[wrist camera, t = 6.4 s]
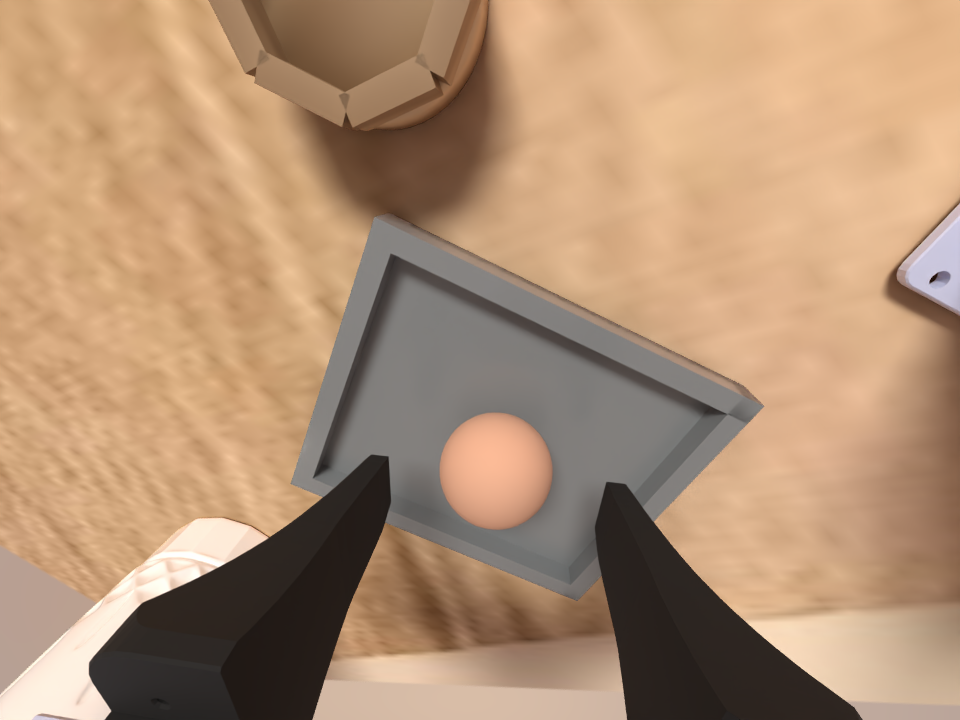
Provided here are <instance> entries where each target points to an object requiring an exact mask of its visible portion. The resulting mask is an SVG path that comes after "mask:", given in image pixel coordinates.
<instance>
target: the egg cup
mask: <svg viewBox="0 0 960 720" xmlns="http://www.w3.org/2000/svg"><path fill="white" fill-rule="evenodd" d="M209 2H210V4H211V6H212V8H213V10H214V12H215V14H216V16H217V18H218V20H219V22H220V24H221V26H222V28H223V30H224V32H225V34H226V36H227V38H228V40H229V42H230V44H231V46H232V48H233V50H234V52H235V54H236V56H237V58H238V60H239V62H240V64H241V66H242V68H243V70H244V72H245V73H246V74H249V75H252V76H254V77H255V82H254V83H255V84H257V85H259V86H261V87H263V88H265V89H267V90H269V91H271V92H273V93H275V94H277V95H279V96H281V97H283V98H285V99H287V100H289V101H291V102H293V103H295V104H297V105H299V106H301V107H303V108H305V109H307V110H309V111H311V112H313V113H315V114H317V115H319V116H321V117H323V118H325V119H327V120H329V121H331V122H333V123H335V124H337V125H339V126H341V127H343V128H347V129H351V130H356V131H358V129H360V130H364V131H369V130H372V129H381V130H399V129H404V128H409V127H412V126H415V125H418V124H420V123H423V122H425V121H427V120H428V119H430V118H432V117H434V116H435V115H437V114H438V113H439V112H441V111H442V110H443V109H444V108H446V107H447V106H448V105H449V104H450V103H451V102H452V100H453V99H454V98H455V97H456V96H457V95H458V93H459V92H460V91H461V89H462V88H463V87H464V85H465V83H466V82H467V80H468V78H469V77H470V75H471V73H472V71H473V69H474V66H475V64H476V62H477V59H478V57H479V54H480V50H481V47H482V44H483V40H484V35H485V30H486V25H487V15H488V0H209Z"/></svg>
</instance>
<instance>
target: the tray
mask: <svg viewBox="0 0 960 720" xmlns="http://www.w3.org/2000/svg"><path fill="white" fill-rule="evenodd" d="M763 407H764V405H763V404H762V403H761V402H760V401H758V400H757V399H756V398H755V397H754V396H753V395H752V394H751V393H750V392H749V391H748V390H747V389H746V388H745V387H744V386H743V385H741V384H739V383H737V382H735V381H733V380H731V379H728V378H726V377H724V376H722V375H720V374H718V373H716V372H714V371H712V370H710V369H708V368H706V367H704V366H702V365H700V364H698V363H696V362H694V361H692V360H690V359H688V358H686V357H683V356H681V355H679V354H677V353H675V352H673V351H671V350H669V349H667V348H665V347H663V346H661V345H659V344H657V343H655V342H653V341H651V340H649V339H647V338H645V337H643V336H640V335H638V334H636V333H634V332H632V331H630V330H628V329H626V328H624V327H622V326H620V325H618V324H616V323H614V322H612V321H610V320H608V319H606V318H604V317H602V316H600V315H597V314H595V313H593V312H591V311H589V310H587V309H585V308H583V307H581V306H579V305H577V304H575V303H573V302H571V301H569V300H567V299H565V298H563V297H561V296H559V295H557V294H554V293H552V292H550V291H548V290H546V289H544V288H542V287H540V286H538V285H536V284H534V283H532V282H530V281H528V280H526V279H524V278H522V277H520V276H518V275H516V274H514V273H512V272H509V271H507V270H505V269H503V268H501V267H499V266H497V265H495V264H493V263H491V262H489V261H487V260H485V259H483V258H481V257H479V256H477V255H475V254H473V253H471V252H469V251H466V250H464V249H462V248H460V247H458V246H456V245H454V244H452V243H450V242H448V241H446V240H444V239H442V238H440V237H438V236H436V235H434V234H432V233H430V232H428V231H426V230H423V229H421V228H419V227H417V226H415V225H413V224H411V223H409V222H407V221H405V220H403V219H401V218H399V217H397V216H395V215H393V214H391V213H386V214H383V215H379V216H376V217H374V220H373V223H372V227H371V230H370V233H369V236H368V239H367V243H366V246H365V249H364V252H363V255H362V259H361V262H360V265H359V268H358V271H357V274H356V278H355V281H354V284H353V287H352V290H351V294H350V297H349V300H348V303H347V306H346V309H345V313H344V316H343V319H342V322H341V325H340V329H339V332H338V335H337V338H336V341H335V344H334V348H333V351H332V354H331V357H330V360H329V364H328V367H327V370H326V373H325V376H324V379H323V383H322V386H321V389H320V392H319V395H318V399H317V402H316V405H315V408H314V411H313V415H312V418H311V421H310V424H309V427H308V430H307V434H306V437H305V440H304V443H303V446H302V450H301V453H300V456H299V459H298V462H297V465H296V469H295V472H294V475H293V478H292V481H291V484H292V485H295V486H297V487H300V488H302V489H304V490H307V491H309V492H312V493H314V494H317V495H319V496H322V497H324V496H325V495H327V494H328V493H329V492H330V491H331V490H332V489H333V488H335V487H336V486H337V485H338V484H339V483H340V482H341V481H343V480H344V479H345V478H346V477H347V476H348V475H349V474H350V473H351V472H352V471H353V470H354V469H356V468H357V467H358V466H359V465H360V464H361V463H362V462H363V461H364V460H365V459H366V458H367V457H368V456H370V455H371V454H372V455H381V456H389V469H390V488H391V504H390V508H389V511H388V514H387V518H386V521H385V523H388V524H390V525H393V526H395V527H397V528H400V529H402V530H405V531H407V532H410V533H412V534H415V535H417V536H419V537H422V538H424V539H427V540H429V541H432V542H434V543H437V544H439V545H441V546H444V547H446V548H449V549H451V550H454V551H456V552H459V553H461V554H463V555H466V556H468V557H471V558H473V559H476V560H478V561H481V562H483V563H485V564H488V565H490V566H493V567H495V568H498V569H500V570H503V571H505V572H508V573H510V574H512V575H515V576H517V577H520V578H522V579H525V580H527V581H530V582H532V583H534V584H537V585H539V586H542V587H544V588H547V589H549V590H552V591H554V592H556V593H559V594H561V595H564V596H566V597H569V598H571V599H574V600H576V601H578V600H579V599H580V598H581V597H582V596H583V594H584V593H585V592H586V591H587V590H588V589H589V588H590V587H591V586H592V585H593V584H594V583H595V582H596V581H597V580H598V579H599V578H600V577H601V576H602V575H601V570H600V566H599V561H598V554H597V546H596V536H595V524H596V520H597V516H598V512H599V508H600V504H601V500H602V497H603V493H604V489H605V485H606V482H614V483H623V484H626V485H627V486H628V488H629V489H630V490H631V492H632V493H633V495H634V496H635V497H636V499H637V500H638V501H639V503H640V504H641V506H642V507H643V508H644V510H645V511H646V512H647V514H648V515H649V517H650V518H651V519H652V521H653V522H654V521H655V520H656V518H657V517H658V516H659V515H660V514H661V513H662V512H663V511H664V510H665V509H666V508H667V507H668V506H669V505H670V504H671V503H672V502H673V501H674V500H675V499H676V498H677V497H678V496H679V495H680V493H681V492H682V491H683V490H684V489H685V488H686V487H687V486H688V485H689V484H690V483H691V482H692V481H693V480H694V479H695V478H696V477H697V476H698V475H699V474H700V473H701V472H702V471H703V470H704V469H705V467H706V466H707V465H708V464H709V463H710V462H711V461H712V460H713V459H714V458H715V457H716V456H717V455H718V454H719V453H720V452H721V451H722V450H723V449H724V448H725V447H726V446H727V445H728V444H729V442H730V441H731V440H732V439H733V438H734V437H735V436H736V435H737V434H738V433H739V432H740V431H741V430H742V429H743V428H744V427H745V426H746V425H747V424H748V423H749V422H750V421H751V420H752V419H753V417H754V416H755V415H756V414H757V413H758V412H759V411H760V410H761V409H762V408H763ZM492 412H495V413H506V414H510V415H513V416H516V417H519V418H521V419H523V420H524V421H526V422H527V423H529V424H530V425H531V426H532V427H533V428H535V429H536V431H537V432H538V433H539V434H540V435H541V437H542V438H543V440H544V441H545V443H546V445H547V447H548V450H549V452H550V456H551V460H552V467H553V475H552V483H551V488H550V491H549V493H548V496H547V498H546V500H545V502H544V504H543V505H542V507H541V508H540V509H539V510H538V512H537V513H536V514H534V515H533V516H532V517H531V518H530V519H529V520H527V521H526V522H524V523H522V524H520V525H518V526H515V527H512V528H509V529H502V530H492V529H485V528H481V527H478V526H475V525H473V524H471V523H469V522H468V521H466V520H465V519H463V518H462V517H461V516H460V515H458V514H457V513H456V512H455V510H454V509H453V508H452V507H451V505H450V504H449V502H448V501H447V499H446V497H445V494H444V492H443V489H442V486H441V481H440V460H441V455H442V452H443V449H444V447H445V444H446V442H447V441H448V439H449V437H450V436H451V434H452V433H453V432H454V431H455V430H456V429H457V428H458V427H459V426H460V425H461V424H462V423H464V422H465V421H467V420H469V419H471V418H473V417H475V416H477V415H480V414H485V413H492Z"/></svg>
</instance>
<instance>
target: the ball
mask: <svg viewBox="0 0 960 720" xmlns="http://www.w3.org/2000/svg"><path fill="white" fill-rule="evenodd" d="M552 475H553V467H552V460H551V456H550V452H549V450H548V447H547V445H546V443H545V441H544V440H543V438H542V437H541V435H540V434H539V433H538V432H537V431H536V429H535V428H533V427H532V426H531V425H530V424H529V423H527V422H526V421H524V420H523V419H521V418H519V417H516V416H513V415H510V414H506V413H495V412H492V413H485V414H480V415H477V416H475V417H473V418H471V419H469V420H467V421H465V422H464V423H462V424H461V425H460V426H459V427H458V428H457V429H456V430H455V431H454V432H453V433H452V434H451V436H450V437H449V439H448V441H447V442H446V444H445V447H444V449H443V452H442V455H441V460H440V481H441V486H442V489H443V492H444V494H445V497H446V499H447V501H448V502H449V504H450V505H451V507H452V508H453V509H454V510H455V512H456V513H457V514H458V515H460V516H461V517H462V518H463V519H465V520H466V521H468V522H469V523H471V524H473V525H475V526H478V527H481V528H485V529H492V530H502V529H509V528H512V527H515V526H518V525H520V524H522V523H524V522H526V521H527V520H529V519H530V518H531V517H532V516H533V515H534V514H536V513H537V512H538V510H539V509H540V508H541V507H542V505H543V504H544V502H545V500H546V498H547V496H548V493H549V491H550V488H551V483H552Z"/></svg>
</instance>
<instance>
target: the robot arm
mask: <svg viewBox="0 0 960 720" xmlns="http://www.w3.org/2000/svg"><path fill="white" fill-rule="evenodd" d="M936 273H938V276H937V278H936V279H935V281H933V282H932V283H930V284H929V281H930V279H931V278H932V276H933V275H935V274H936ZM897 280H898V281H899V282H900V283H901V284H902V285H904V286H905V287H907V288H909V289H911V290H913V291H915V292H916V293H918V294H920V295H922V296H924V297H926V298H928V299H929V300H931V301H933V302H935V303H937V304H939V305H940V306H942V307H944V308H946V309H948V310H950V311H952V312H953V313H955V314H957V315H959V316H960V204H959V205H958V206H957V207H956V208H955V209H954V210H953V211H952V212H951V213H950V214H949V215H948V216H947V217H946V218H945V219H944V220H943V221H942V222H941V223H940V224H939V225H938V227H937V228H936V229H935V230H934V231H933V232H932V233H931V234H930V235H929V236H928V237H927V238H926V239H925V240H924V241H923V242H922V243H921V244H920V245H919V246H918V247H917V248H916V249H915V250H914V251H913V253H912V254H911V255H910V256H909V257H908V258H907V259H906V260H905V261H904V262H903V263H902V264H901V266H900V267H899V269H898V272H897ZM390 504H391V488H390V469H389V456H381V455H372V454H371V455H370V456H368V457H367V458H366V459H365V460H364V461H363V462H362V463H361V464H360V465H359V466H358V467H357V468H356V469H354V470H353V471H352V472H351V473H350V474H349V475H348V476H347V477H346V478H345V479H344V480H343V481H341V482H340V483H339V484H338V485H337V486H336V487H335V488H333V489H332V490H331V491H330V492H329V493H328V494H327V495H325V496H324V497H323V498H322V499H321V500H319V501H318V502H317V503H316V504H314V505H313V506H312V507H311V508H309V509H308V510H307V511H306V512H304V513H303V514H302V515H301V516H299V517H298V518H297V519H295V520H294V521H293V522H291V523H290V524H288V525H287V526H286V527H284V528H283V529H281V530H280V531H278V532H277V533H275V534H274V535H272V536H271V537H269V538H268V539H266V540H265V541H263V542H261V543H260V544H258V545H256V546H255V547H253V548H251V549H250V550H248V551H246V552H245V553H243V554H241V555H240V556H238V557H236V558H235V559H233V560H231V561H229V562H227V563H225V564H223V565H222V566H220V567H218V568H216V569H214V570H212V571H210V572H208V573H206V574H204V575H202V576H200V577H198V578H196V579H194V580H192V581H190V582H188V583H186V584H183V585H181V586H179V587H177V588H174V589H172V590H170V591H168V592H165V593H163V594H161V595H159V596H156V597H154V598H152V599H150V600H147V601H145V602H142V603H141V604H140V605H139V606H138V607H137V608H136V609H135V611H134V612H133V613H132V614H131V615H130V616H129V617H128V618H127V619H126V620H125V621H124V622H123V624H122V625H121V626H120V627H119V628H118V629H117V630H116V632H115V633H114V634H113V635H112V636H111V637H110V638H109V639H108V641H107V642H106V643H105V644H104V645H103V646H102V647H101V649H100V650H99V651H98V652H97V653H96V654H95V655H94V656H93V658H92V659H91V660H90V662H89V676H90V679H91V681H92V683H93V684H94V686H95V687H96V689H97V690H98V692H99V693H100V695H101V696H102V698H103V699H104V701H105V702H106V704H107V705H108V707H109V708H110V710H111V712H110V713H109V715H108V716H107V717H106V719H105V720H312V719H313V715H314V713H315V709H316V706H317V702H318V699H319V696H320V693H321V690H322V686H323V683H324V680H325V677H326V674H327V671H328V668H329V665H330V661H331V658H332V655H333V652H334V649H335V646H336V643H337V640H338V637H339V634H340V631H341V628H342V625H343V623H344V620H345V617H346V614H347V611H348V608H349V606H350V603H351V601H352V598H353V596H354V594H355V591H356V589H357V587H358V585H359V582H360V580H361V578H362V576H363V573H364V571H365V569H366V567H367V565H368V562H369V560H370V558H371V556H372V553H373V551H374V549H375V547H376V544H377V542H378V540H379V537H380V535H381V533H382V530H383V527H384V524H385V521H386V518H387V514H388V511H389V508H390ZM595 536H596V546H597V554H598V561H599V566H600V570H601V575H602V579H603V583H604V588H605V592H606V596H607V601H608V605H609V610H610V614H611V618H612V623H613V627H614V631H615V636H616V641H617V647H618V653H619V660H620V667H621V675H622V682H623V690H624V697H625V705H626V713H627V720H862V718H861V717H860V715H859V714H858V712H857V711H856V710H855V708H854V707H853V706H851V705H850V704H849V703H847V702H846V701H845V700H843V699H842V698H841V697H839V696H838V695H837V694H835V693H834V692H832V691H831V690H830V689H828V688H827V687H826V686H824V685H823V684H822V683H820V682H819V681H817V680H816V679H815V678H813V677H812V676H811V675H809V674H808V673H807V672H805V671H804V670H803V669H801V668H800V667H799V666H798V665H796V664H795V663H794V662H793V661H791V660H790V659H789V658H788V657H786V656H785V655H784V654H783V653H781V652H780V651H779V650H778V649H776V648H775V647H774V646H773V645H772V644H770V643H769V642H768V641H767V640H766V639H764V638H763V637H762V636H761V635H760V634H759V633H757V632H756V631H755V630H754V629H753V628H752V627H751V626H750V625H748V624H747V623H746V622H745V621H744V620H743V619H742V618H741V617H740V616H739V615H737V614H736V613H735V612H734V611H733V610H732V609H731V608H730V607H729V606H728V605H727V604H726V603H725V602H724V601H723V600H721V599H720V598H719V597H718V596H717V594H716V593H715V592H714V591H713V590H712V589H711V588H710V587H709V586H708V585H707V584H706V583H705V582H704V581H703V580H702V579H701V578H700V577H699V576H698V575H697V574H696V573H695V572H694V571H693V570H692V568H691V567H690V566H689V565H688V564H687V563H686V562H685V560H684V559H683V558H682V557H681V556H680V555H679V553H678V552H677V551H676V550H675V549H674V547H673V546H672V545H671V544H670V542H669V541H668V540H667V539H666V537H665V536H664V535H663V534H662V532H661V531H660V530H659V528H658V527H657V526H656V525H655V523H654V522H653V521H652V519H651V518H650V517H649V515H648V514H647V512H646V511H645V510H644V508H643V507H642V506H641V504H640V503H639V501H638V500H637V499H636V497H635V496H634V495H633V493H632V492H631V490H630V489H629V488H628V486H627V485H626V484H623V483H614V482H606V485H605V489H604V493H603V497H602V500H601V504H600V508H599V512H598V516H597V520H596V524H595ZM32 720H79V719H73V718H67V717H61V716H55V715H50V714H44V713H41V714H38V715H36V716H34V718H33V719H32Z"/></svg>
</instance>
